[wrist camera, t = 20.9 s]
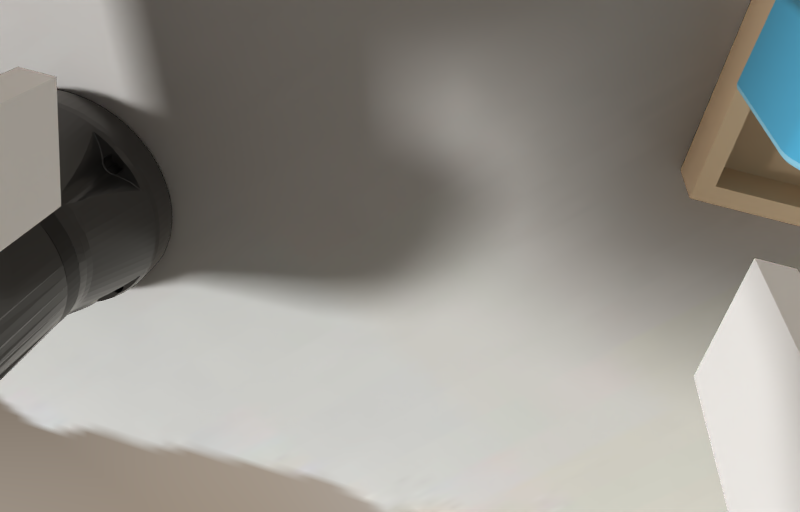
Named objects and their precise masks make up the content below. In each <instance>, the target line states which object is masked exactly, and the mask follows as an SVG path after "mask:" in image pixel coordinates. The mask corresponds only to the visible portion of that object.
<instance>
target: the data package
mask: <svg viewBox="0 0 800 512" xmlns="http://www.w3.org/2000/svg"><path fill="white" fill-rule="evenodd" d="M737 89H738V91H739V92H740V94H741V95H742V97H743V98H744V100H745V101H746V103H747V104H748V106H749V107H750V109H751V110H752V112H753V114H754V115H755V117H756V118H757V120H758V121H759V123H760V124H761V126H762V127H763V129H764V130H765V132H766V133H767V135H768V136H769V138H770V139H771V141H772V143H773V144H774V146H775V147H776V149H777V150H778V152H779V153H780V155H781V156H782V157H783V159H784V160H785V161H786V162H788V163H789V164H790V165H792V166H793V167H795V168H797V169H798V170H800V0H775V2H774V4H773V7H772V9H771V11H770V13H769V15H768V17H767V20H766V22H765V24H764V26H763V28H762V30H761V32H760V35H759V37H758V39H757V41H756V43H755V45H754V48H753V50H752V52H751V54H750V56H749V58H748V61H747V63H746V65H745V67H744V69H743V71H742V74H741V76H740V78H739V80H738V82H737Z"/></svg>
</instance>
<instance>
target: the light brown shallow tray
mask: <svg viewBox="0 0 800 512" xmlns="http://www.w3.org/2000/svg"><path fill="white" fill-rule="evenodd" d="M774 2H775V0H751V2H750V4H749V7H748V9H747V12H746V14H745V16H744V19H743V21H742V24H741V26H740V28H739V31H738V33H737V36H736V38H735V40H734V43H733V45H732V48H731V50H730V52H729V55H728V57H727V60H726V62H725V64H724V67H723V69H722V72H721V74H720V76H719V79H718V81H717V84H716V86H715V88H714V91H713V93H712V96H711V98H710V100H709V103H708V105H707V108H706V110H705V112H704V115H703V117H702V120H701V122H700V124H699V127H698V129H697V132H696V134H695V136H694V139H693V141H692V144H691V146H690V148H689V151H688V153H687V156H686V158H685V160H684V163H683V165H682V168H681V173H682V176H683V179H684V182H685V186H686V189H687V192H688V195H689V198H690V199H694V200H698V201H702V202H706V203H710V204H714V205H718V206H722V207H726V208H730V209H734V210H737V211H741V212H745V213H749V214H753V215H757V216H761V217H765V218H769V219H773V220H777V221H781V222H785V223H789V224H793V225H796V226H800V170H798V169H797V168H795V167H793V166H792V165H790V164H789V163H788V162H786V161H785V160H784V159H783V157H782V156H781V155H780V153H779V152H778V150H777V149H776V147H775V146H774V144H773V143H772V141H771V139H770V138H769V136H768V135H767V133H766V132H765V130H764V129H763V127H762V126H761V124H760V123H759V121H758V120H757V118H756V117H755V115H754V114H753V112H752V110H751V109H750V107H749V106H748V104H747V103H746V101H745V100H744V98H743V97H742V95H741V94H740V92H739V91H738V89H737V82H738V80H739V78H740V76H741V74H742V71H743V69H744V67H745V65H746V63H747V61H748V58H749V56H750V54H751V52H752V50H753V48H754V45H755V43H756V41H757V39H758V37H759V35H760V32H761V30H762V28H763V26H764V24H765V22H766V20H767V17H768V15H769V13H770V11H771V9H772V7H773V4H774Z"/></svg>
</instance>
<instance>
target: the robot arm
mask: <svg viewBox="0 0 800 512" xmlns="http://www.w3.org/2000/svg"><path fill="white" fill-rule="evenodd" d="M171 225H172V211H171V203H170V198H169V193H168V190H167V187H166V183H165V181H164V178H163V176H162V174H161V171H160V169H159V167H158V166H157V164H156V162H155V160H154V159H153V157H152V155H151V154H150V152H149V151H148V149H147V148H146V147H145V145H144V144H143V143H142V142H141V140H140V139H139V138H138V137H137V136H136V135H135V134H134V133H133V132H132V131H131V130H130V129H129V128H128V127H127V126H126V125H125V124H124V123H123V122H122V121H121V120H119V119H118V118H117V117H116V116H114V115H113V114H112V113H110V112H109V111H107V110H106V109H104V108H102V107H101V106H99V105H97V104H96V103H94V102H92V101H90V100H87V99H85V98H83V97H80V96H78V95H75V94H72V93H69V92H65V91H60V90H57V79H56V77H55V76H51V75H48V74H44V73H40V72H36V71H32V70H28V69H24V68H21V67H16V68H14V69H12V70H9V71H7V72H5V73H2V74H0V380H1V379H2V378H3V377H4V376H5V375H6V374H7V373H8V372H9V371H10V370H11V369H12V368H13V367H14V366H15V365H16V364H17V363H18V362H19V361H20V360H21V359H22V358H23V357H24V356H26V355H27V354H28V353H29V352H30V351H31V350H32V349H33V348H34V347H35V346H36V345H37V344H38V343H39V342H40V341H41V340H42V339H43V338H44V337H45V336H46V335H47V334H48V333H49V332H50V331H51V330H52V329H53V328H54V327H55V326H56V325H57V324H58V323H59V322H60V321H61V320H62V319H63V318H64V317H65V316H66V315H68V314H71V313H73V312H76V311H79V310H81V309H84V308H86V307H88V306H90V305H92V304H94V303H95V302H97V301H103V300H106V299H109V298H112V297H115V296H117V295H119V294H122V293H124V292H125V291H127V290H129V289H130V288H132V287H133V286H134V285H136V284H137V283H138V282H139V281H140V280H141V279H142V278H143V277H144V276H145V275H146V274H147V273H148V272H149V271H150V270H151V269H152V268H153V267H154V266H155V265H156V264H157V262H158V261H159V260H160V258H161V257H162V255H163V253H164V251H165V249H166V247H167V244H168V241H169V237H170V233H171ZM694 380H695V384H696V388H697V392H698V396H699V399H700V403H701V407H702V411H703V415H704V419H705V423H706V427H707V431H708V435H709V439H710V443H711V447H712V450H713V454H714V458H715V462H716V466H717V470H718V474H719V478H720V482H721V486H722V490H723V494H724V497H725V501H726V505H727V509H728V512H800V272H799V271H798V269H796V268H792V267H788V266H784V265H780V264H776V263H773V262H769V261H765V260H761V259H757V258H754V260H753V262H752V264H751V266H750V268H749V270H748V272H747V274H746V275H745V277H744V279H743V281H742V283H741V285H740V287H739V289H738V291H737V293H736V295H735V297H734V299H733V301H732V303H731V305H730V307H729V309H728V310H727V312H726V314H725V316H724V318H723V320H722V322H721V324H720V326H719V328H718V330H717V332H716V334H715V336H714V338H713V340H712V342H711V344H710V346H709V347H708V349H707V351H706V353H705V355H704V357H703V359H702V361H701V363H700V365H699V367H698V369H697V371H696V373H695V375H694Z"/></svg>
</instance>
